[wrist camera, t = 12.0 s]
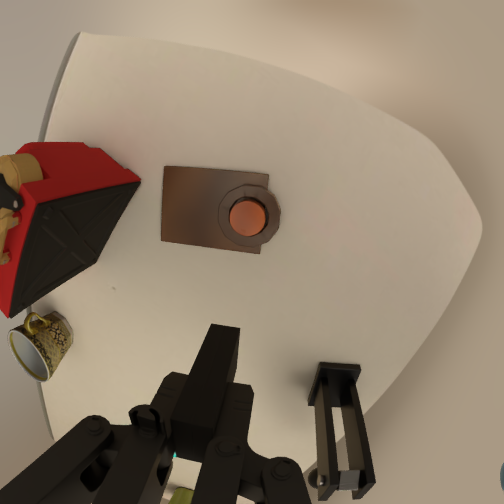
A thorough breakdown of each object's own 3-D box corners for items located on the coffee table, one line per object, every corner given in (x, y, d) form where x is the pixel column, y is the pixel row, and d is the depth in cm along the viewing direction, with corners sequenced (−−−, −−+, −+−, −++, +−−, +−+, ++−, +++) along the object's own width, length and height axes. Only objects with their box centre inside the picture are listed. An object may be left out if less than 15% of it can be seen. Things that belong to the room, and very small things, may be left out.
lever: (330, 467, 33) (327, 488, 31) (307, 466, 34) (304, 487, 31) (366, 464, 23) (363, 494, 20) (335, 465, 23) (331, 496, 21)
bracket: (344, 402, 40) (358, 504, 22) (307, 400, 40) (309, 506, 22) (360, 364, 37) (387, 474, 20) (319, 361, 38) (330, 477, 20)
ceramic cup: (80, 360, 44) (51, 392, 35) (42, 334, 44) (11, 361, 35) (83, 306, 40) (45, 337, 31) (41, 279, 40) (2, 303, 31)
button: (267, 201, 30) (266, 203, 29) (264, 234, 31) (262, 238, 30) (233, 197, 31) (231, 199, 29) (230, 230, 32) (228, 233, 30)
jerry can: (95, 135, 32) (-31, 136, 13) (147, 178, 33) (19, 207, 14) (52, 226, 37) (-51, 271, 18) (95, 269, 38) (-4, 339, 19)
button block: (285, 176, 31) (284, 177, 29) (275, 254, 34) (274, 261, 32) (166, 166, 32) (157, 166, 30) (163, 239, 35) (154, 245, 33)
